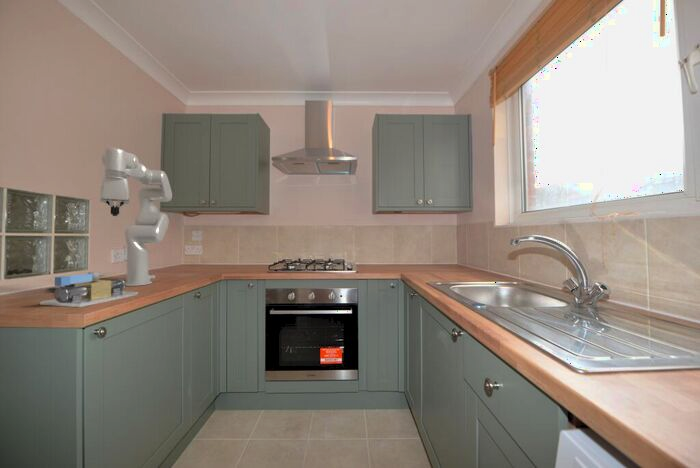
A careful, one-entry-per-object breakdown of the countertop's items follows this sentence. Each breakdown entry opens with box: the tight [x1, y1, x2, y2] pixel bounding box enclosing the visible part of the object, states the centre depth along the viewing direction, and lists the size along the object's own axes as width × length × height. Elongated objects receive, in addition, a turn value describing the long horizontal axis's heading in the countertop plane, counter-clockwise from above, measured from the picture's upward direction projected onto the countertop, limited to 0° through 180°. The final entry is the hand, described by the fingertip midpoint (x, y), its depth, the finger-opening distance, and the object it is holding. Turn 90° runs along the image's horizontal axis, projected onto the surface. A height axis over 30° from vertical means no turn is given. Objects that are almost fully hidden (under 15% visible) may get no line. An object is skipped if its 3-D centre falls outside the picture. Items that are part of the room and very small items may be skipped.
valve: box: [45, 284, 75, 292], centre depth 138 cm, size 6×26×15 cm
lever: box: [54, 271, 100, 287], centre depth 117 cm, size 15×4×4 cm, turn 171°
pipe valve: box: [39, 278, 139, 308], centre depth 122 cm, size 24×18×7 cm
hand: (114, 215), depth 137 cm, fingers closed
